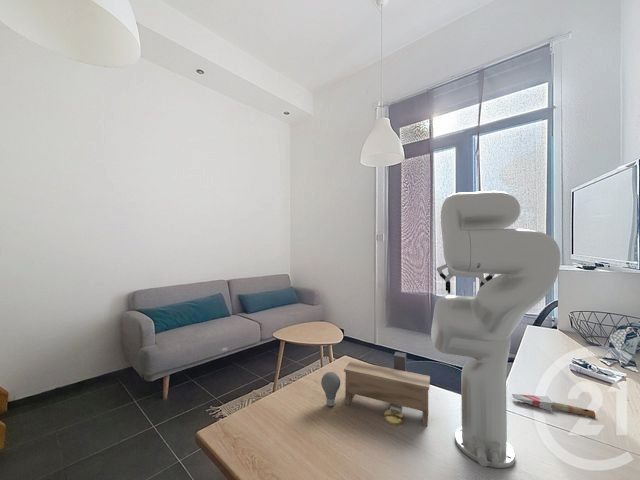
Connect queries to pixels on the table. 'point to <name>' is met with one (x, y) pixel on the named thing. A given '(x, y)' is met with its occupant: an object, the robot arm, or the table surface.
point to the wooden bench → (387, 386)
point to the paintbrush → (552, 404)
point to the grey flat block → (401, 365)
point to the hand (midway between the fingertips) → (465, 294)
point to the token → (393, 417)
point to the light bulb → (330, 386)
